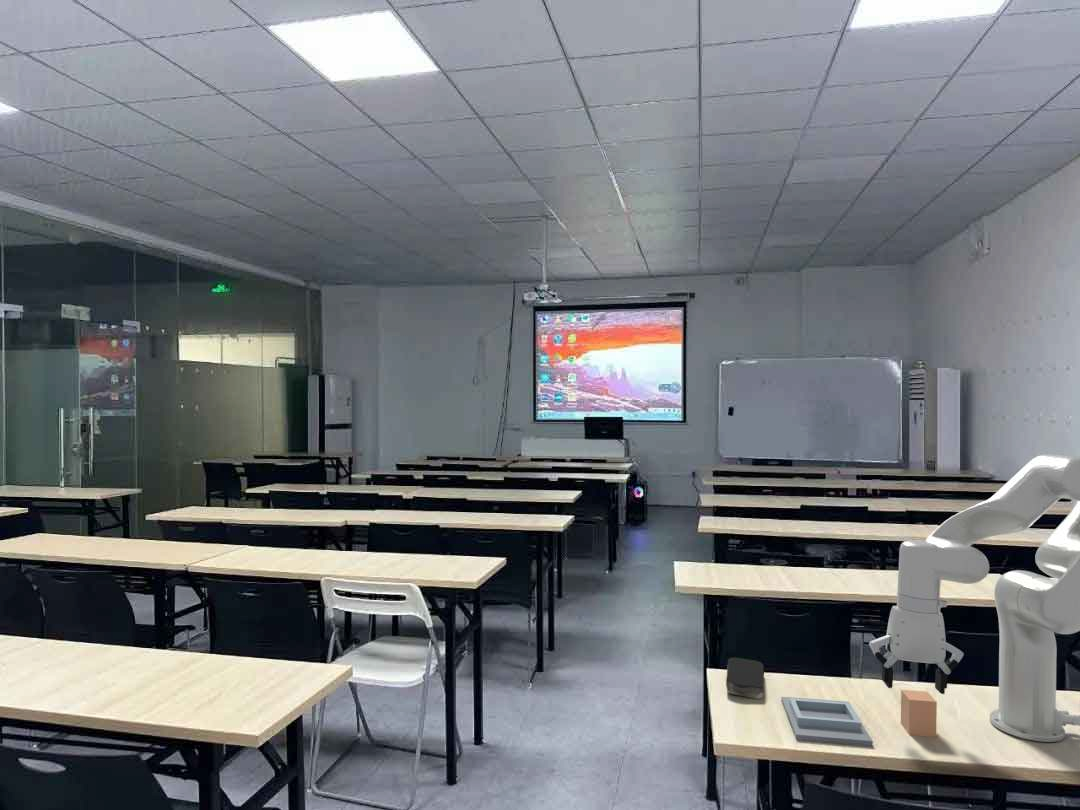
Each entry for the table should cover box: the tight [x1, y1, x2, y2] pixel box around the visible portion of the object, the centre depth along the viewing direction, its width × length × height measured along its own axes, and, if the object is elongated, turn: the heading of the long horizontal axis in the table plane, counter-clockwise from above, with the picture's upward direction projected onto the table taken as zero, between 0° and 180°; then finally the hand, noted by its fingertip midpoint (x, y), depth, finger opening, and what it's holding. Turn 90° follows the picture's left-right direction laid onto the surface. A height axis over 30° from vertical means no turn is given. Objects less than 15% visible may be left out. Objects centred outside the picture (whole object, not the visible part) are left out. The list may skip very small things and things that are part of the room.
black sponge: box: [725, 657, 765, 700], centre depth 164 cm, size 16×8×4 cm, turn 163°
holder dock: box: [780, 696, 874, 747], centre depth 145 cm, size 14×18×2 cm
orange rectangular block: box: [900, 689, 938, 738], centre depth 142 cm, size 5×5×7 cm
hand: (913, 688), depth 142 cm, fingers open, 9 cm apart
